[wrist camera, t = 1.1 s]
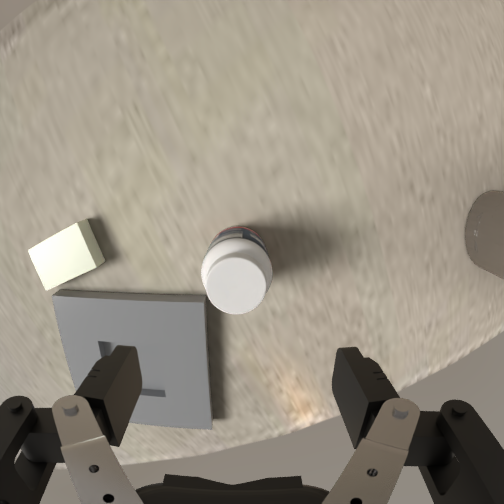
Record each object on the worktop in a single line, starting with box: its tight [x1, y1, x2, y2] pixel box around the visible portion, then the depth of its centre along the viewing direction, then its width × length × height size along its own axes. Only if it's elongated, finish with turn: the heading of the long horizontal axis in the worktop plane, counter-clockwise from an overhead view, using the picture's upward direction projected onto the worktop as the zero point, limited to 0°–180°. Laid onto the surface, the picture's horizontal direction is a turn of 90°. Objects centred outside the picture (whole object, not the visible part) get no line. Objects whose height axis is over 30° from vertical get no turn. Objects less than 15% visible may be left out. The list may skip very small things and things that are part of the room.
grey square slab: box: [52, 290, 213, 430], centre depth 31 cm, size 16×16×2 cm
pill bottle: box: [201, 226, 273, 314], centre depth 25 cm, size 5×5×9 cm
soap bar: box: [28, 219, 105, 291], centre depth 28 cm, size 7×4×2 cm, turn 111°
